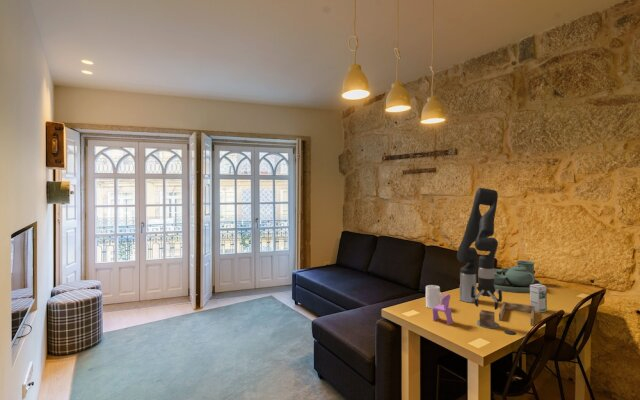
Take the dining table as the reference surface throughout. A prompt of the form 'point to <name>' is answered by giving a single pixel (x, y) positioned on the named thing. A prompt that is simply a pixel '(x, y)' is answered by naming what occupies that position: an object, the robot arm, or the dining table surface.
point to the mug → (433, 296)
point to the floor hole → (509, 332)
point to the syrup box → (538, 297)
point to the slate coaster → (488, 327)
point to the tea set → (516, 277)
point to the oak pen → (519, 308)
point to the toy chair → (443, 309)
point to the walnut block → (487, 318)
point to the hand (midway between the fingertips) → (486, 307)
